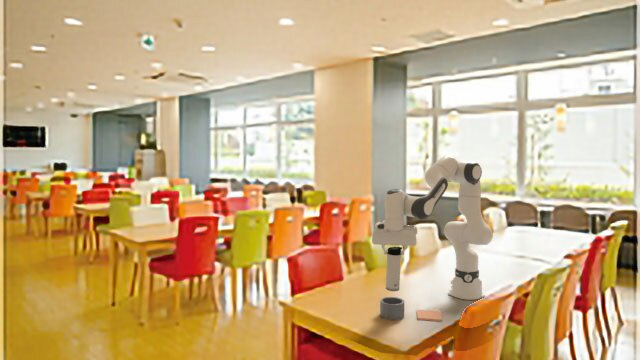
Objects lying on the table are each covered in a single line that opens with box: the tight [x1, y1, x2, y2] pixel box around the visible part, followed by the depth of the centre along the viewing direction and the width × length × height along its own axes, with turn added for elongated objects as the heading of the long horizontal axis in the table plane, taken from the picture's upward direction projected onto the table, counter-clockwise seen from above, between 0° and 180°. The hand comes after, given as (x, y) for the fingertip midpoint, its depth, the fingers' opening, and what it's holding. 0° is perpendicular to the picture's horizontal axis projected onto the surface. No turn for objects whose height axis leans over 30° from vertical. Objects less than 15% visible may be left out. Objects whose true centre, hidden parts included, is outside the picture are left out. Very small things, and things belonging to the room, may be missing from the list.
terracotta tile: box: [416, 309, 443, 322], centre depth 213 cm, size 11×11×1 cm
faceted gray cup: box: [379, 296, 405, 321], centre depth 214 cm, size 11×11×7 cm
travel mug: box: [385, 246, 403, 292], centre depth 212 cm, size 6×7×20 cm
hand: (394, 254), depth 212 cm, fingers closed on travel mug, 6 cm apart
